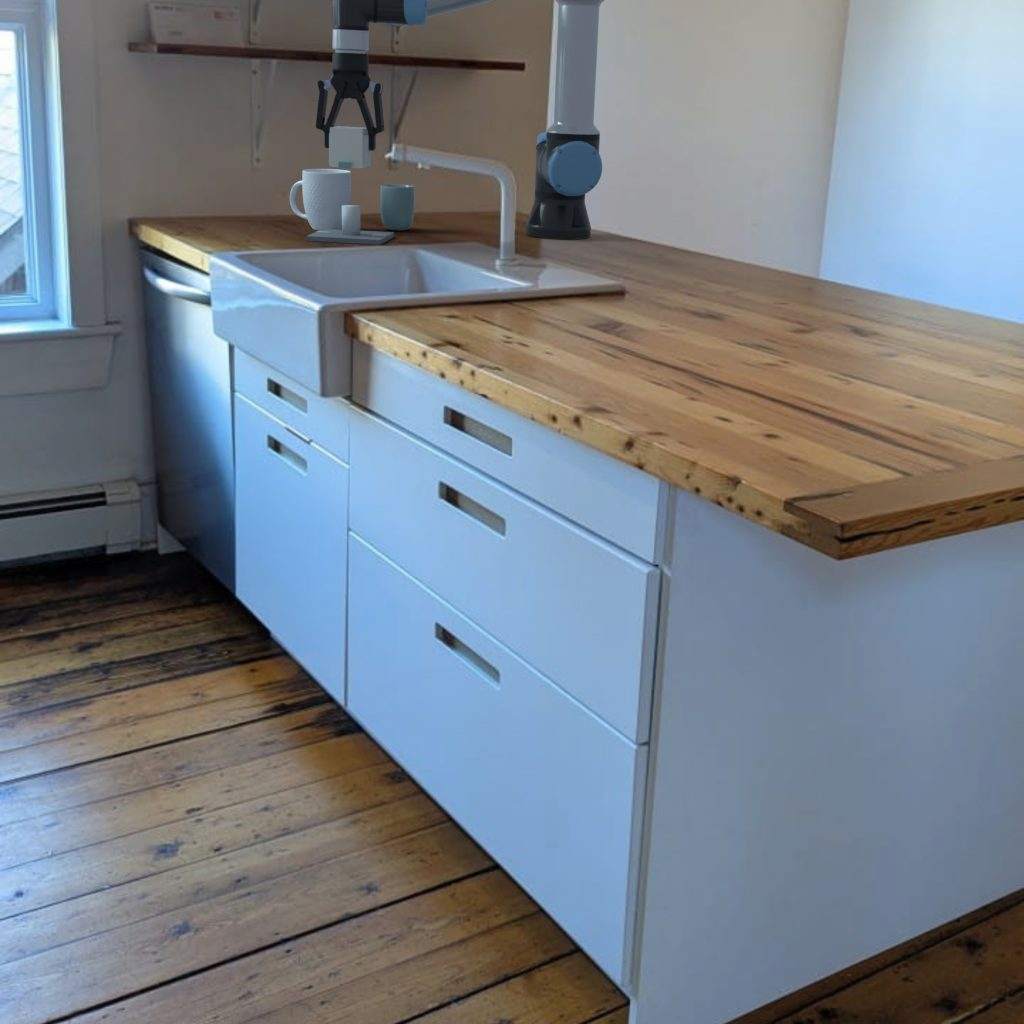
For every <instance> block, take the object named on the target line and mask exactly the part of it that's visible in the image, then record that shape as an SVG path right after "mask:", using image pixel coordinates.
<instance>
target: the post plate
mask: <svg viewBox="0 0 1024 1024" xmlns="http://www.w3.org/2000/svg"><path fill="white" fill-rule="evenodd" d="M394 237H395V231H392V232H391V231H376V230H375V231H373V230H372V231H371V230H361V206H360V205H357V204H356V205H355V204H351V205H342V230H340V229H322V230H319V231H318V230H315V232H313V233H311V234H308V235H306V241H307V242H322V243H324V242H325V243H341V244H355V245H356V244H359V245H382V244H384V243H386V242H387V241H390V240H391V239H393V238H394Z"/></svg>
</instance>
